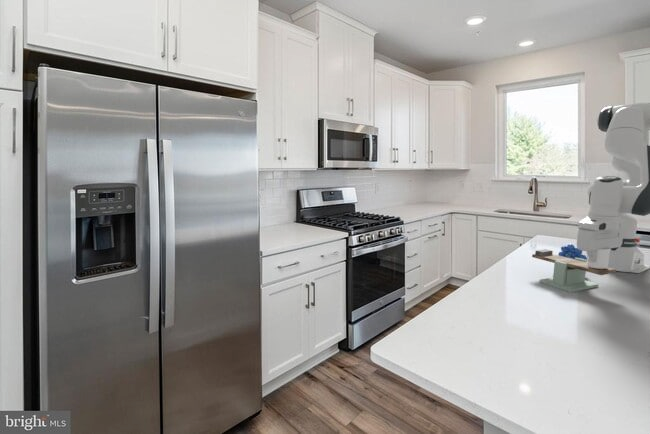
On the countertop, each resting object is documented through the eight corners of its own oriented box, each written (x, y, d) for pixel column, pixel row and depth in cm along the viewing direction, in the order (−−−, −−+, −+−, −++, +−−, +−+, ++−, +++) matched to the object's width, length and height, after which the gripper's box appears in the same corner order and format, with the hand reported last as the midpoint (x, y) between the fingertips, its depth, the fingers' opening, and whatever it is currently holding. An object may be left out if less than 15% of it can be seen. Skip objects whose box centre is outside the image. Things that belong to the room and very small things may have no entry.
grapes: (551, 269, 157) (553, 242, 155) (560, 267, 159) (563, 241, 158) (579, 277, 146) (582, 248, 144) (588, 275, 149) (592, 247, 147)
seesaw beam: (530, 259, 146) (531, 250, 146) (546, 256, 150) (547, 248, 150) (599, 277, 123) (600, 267, 122) (616, 274, 126) (618, 264, 126)
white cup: (614, 268, 123) (614, 248, 123) (592, 268, 125) (592, 249, 124) (603, 265, 130) (603, 246, 130) (582, 265, 131) (582, 246, 131)
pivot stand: (566, 277, 146) (569, 254, 145) (598, 286, 135) (601, 262, 134) (539, 282, 140) (541, 258, 138) (570, 292, 129) (573, 267, 128)
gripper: (610, 219, 132) (606, 256, 134) (574, 223, 124) (570, 261, 126) (630, 222, 126) (625, 260, 128) (594, 226, 118) (589, 266, 121)
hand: (597, 261), depth 127 cm, fingers closed on white cup, 5 cm apart
